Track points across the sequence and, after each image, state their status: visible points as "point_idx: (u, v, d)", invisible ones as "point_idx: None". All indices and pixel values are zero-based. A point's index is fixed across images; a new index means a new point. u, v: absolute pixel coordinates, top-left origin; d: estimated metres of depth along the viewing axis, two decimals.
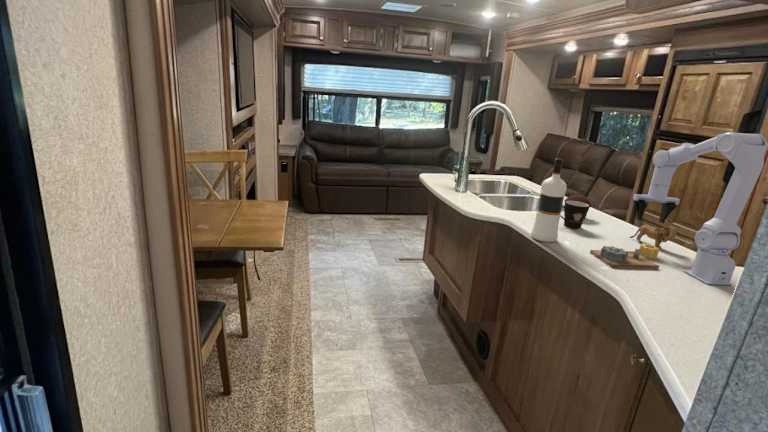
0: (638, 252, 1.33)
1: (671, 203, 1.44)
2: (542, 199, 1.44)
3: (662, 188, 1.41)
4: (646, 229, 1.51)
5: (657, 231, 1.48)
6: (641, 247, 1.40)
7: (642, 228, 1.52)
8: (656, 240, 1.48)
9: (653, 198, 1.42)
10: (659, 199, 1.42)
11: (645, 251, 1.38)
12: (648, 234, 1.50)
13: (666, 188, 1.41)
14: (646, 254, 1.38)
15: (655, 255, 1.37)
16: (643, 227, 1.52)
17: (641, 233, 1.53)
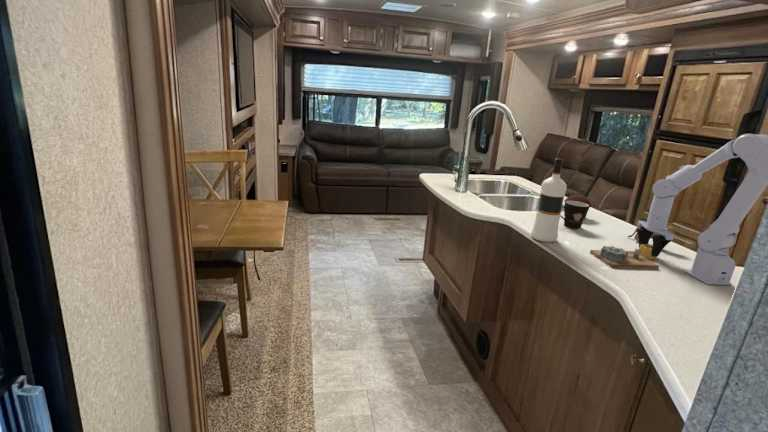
0: (638, 252, 1.33)
1: (662, 237, 1.33)
2: (542, 199, 1.44)
3: (649, 216, 1.36)
4: None
5: None
6: (641, 247, 1.40)
7: (640, 227, 1.53)
8: None
9: (644, 225, 1.39)
10: (646, 227, 1.37)
11: (645, 251, 1.38)
12: None
13: (653, 217, 1.34)
14: (646, 254, 1.38)
15: None
16: None
17: None
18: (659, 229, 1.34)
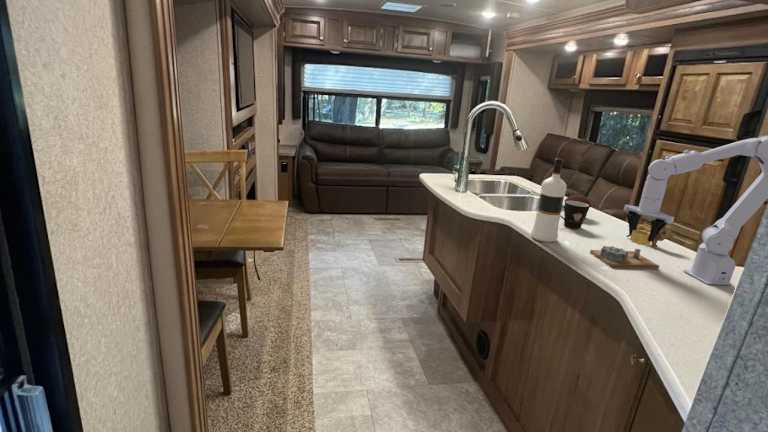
0: (638, 252, 1.33)
1: (661, 221, 1.25)
2: (542, 199, 1.44)
3: (645, 200, 1.27)
4: (643, 228, 1.52)
5: None
6: (636, 234, 1.31)
7: (639, 227, 1.53)
8: None
9: (637, 210, 1.30)
10: (641, 212, 1.28)
11: (641, 238, 1.30)
12: None
13: (650, 200, 1.26)
14: (642, 241, 1.30)
15: None
16: (640, 226, 1.53)
17: None
18: (656, 213, 1.27)
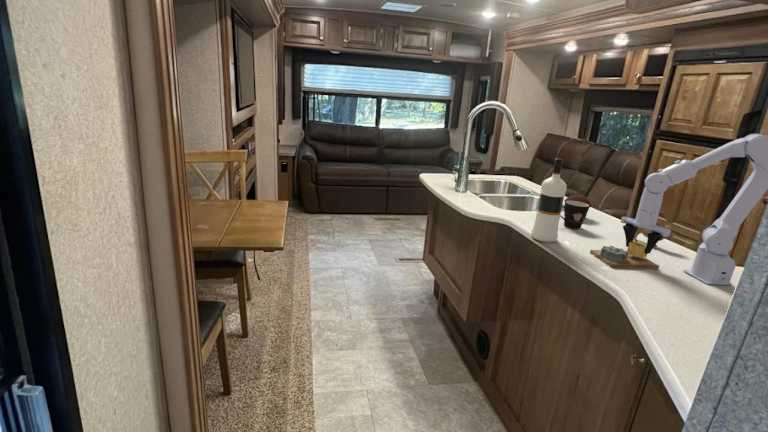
0: None
1: (658, 233, 1.27)
2: (542, 199, 1.44)
3: (642, 213, 1.28)
4: None
5: None
6: (632, 246, 1.32)
7: None
8: None
9: (634, 223, 1.31)
10: (638, 224, 1.30)
11: (638, 250, 1.31)
12: (644, 233, 1.52)
13: (647, 213, 1.27)
14: (639, 253, 1.31)
15: None
16: None
17: (637, 232, 1.54)
18: (652, 225, 1.28)
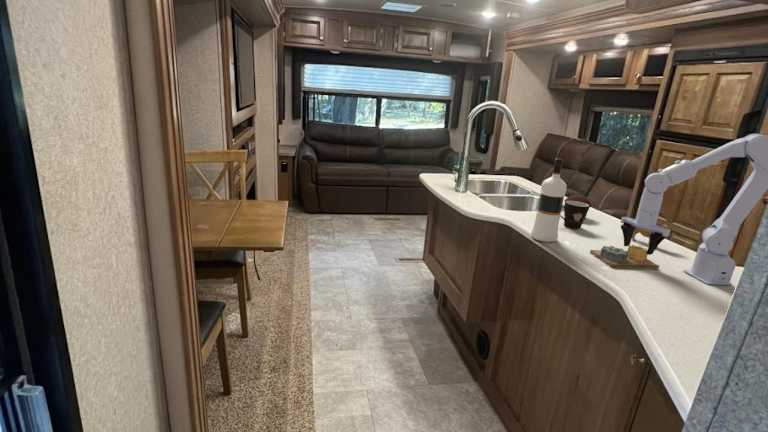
0: None
1: (658, 233, 1.27)
2: (542, 199, 1.44)
3: (642, 213, 1.28)
4: None
5: None
6: (632, 250, 1.33)
7: None
8: None
9: (634, 223, 1.31)
10: (638, 224, 1.30)
11: (637, 254, 1.31)
12: (642, 232, 1.52)
13: (647, 213, 1.27)
14: (638, 257, 1.32)
15: (646, 256, 1.32)
16: None
17: (635, 231, 1.54)
18: (652, 225, 1.28)
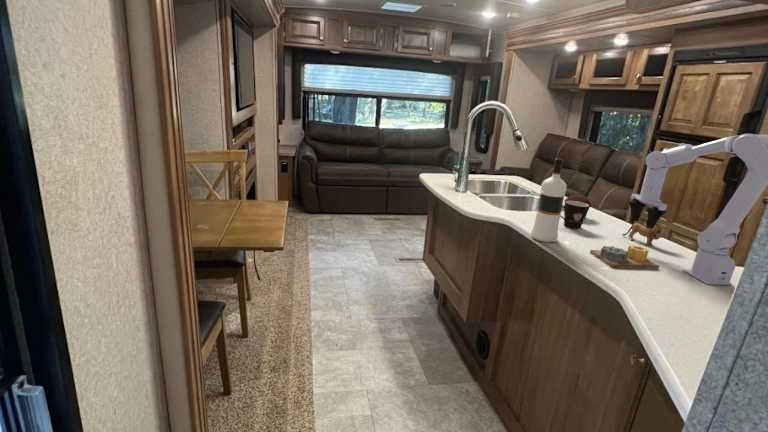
0: None
1: (655, 208, 1.35)
2: (542, 199, 1.44)
3: (643, 188, 1.38)
4: (638, 227, 1.53)
5: (648, 229, 1.50)
6: (632, 250, 1.33)
7: (634, 225, 1.55)
8: (648, 237, 1.50)
9: (637, 198, 1.41)
10: (639, 199, 1.39)
11: (637, 254, 1.31)
12: (640, 232, 1.53)
13: (646, 188, 1.37)
14: (638, 257, 1.32)
15: (646, 256, 1.32)
16: (635, 225, 1.54)
17: (633, 231, 1.55)
18: (652, 200, 1.36)
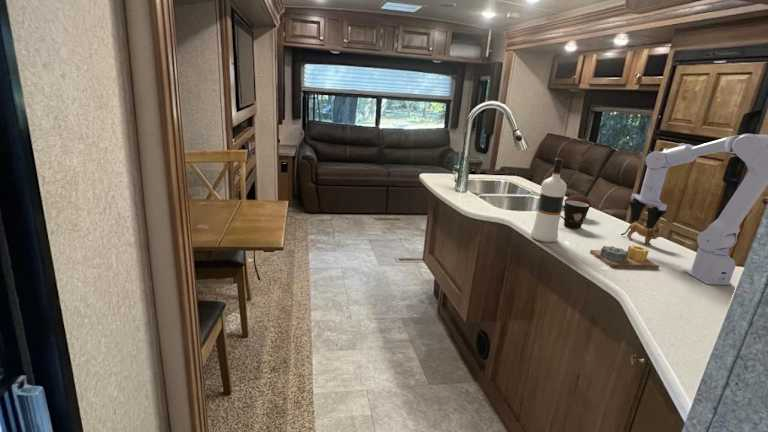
0: None
1: (655, 208, 1.35)
2: (542, 199, 1.44)
3: (643, 188, 1.38)
4: (636, 226, 1.54)
5: (646, 228, 1.50)
6: (632, 250, 1.33)
7: (633, 225, 1.55)
8: (646, 237, 1.50)
9: (637, 198, 1.41)
10: (639, 199, 1.39)
11: (637, 254, 1.31)
12: (638, 231, 1.53)
13: (646, 188, 1.37)
14: (638, 257, 1.32)
15: (646, 256, 1.32)
16: (633, 224, 1.55)
17: (631, 230, 1.55)
18: (652, 200, 1.36)
